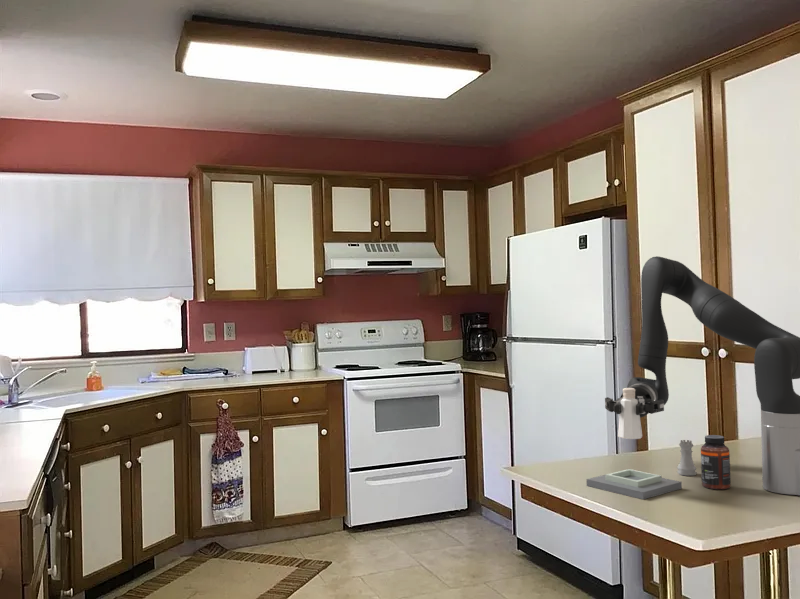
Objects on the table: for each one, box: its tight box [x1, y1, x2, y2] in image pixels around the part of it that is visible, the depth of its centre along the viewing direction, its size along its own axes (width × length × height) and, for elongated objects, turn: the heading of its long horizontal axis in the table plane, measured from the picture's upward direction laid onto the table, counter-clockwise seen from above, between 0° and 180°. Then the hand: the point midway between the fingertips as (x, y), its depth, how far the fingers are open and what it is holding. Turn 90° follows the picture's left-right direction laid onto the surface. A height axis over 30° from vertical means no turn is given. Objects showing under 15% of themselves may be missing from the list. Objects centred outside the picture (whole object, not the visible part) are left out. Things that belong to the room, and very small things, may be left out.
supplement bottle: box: [700, 434, 732, 491], centre depth 159 cm, size 6×6×11 cm
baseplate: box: [586, 468, 683, 500], centre depth 160 cm, size 15×14×3 cm
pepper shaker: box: [617, 387, 643, 440], centre depth 161 cm, size 5×5×11 cm
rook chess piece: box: [676, 439, 697, 477], centre depth 171 cm, size 4×4×8 cm
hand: (627, 409), depth 158 cm, fingers closed on pepper shaker, 3 cm apart
